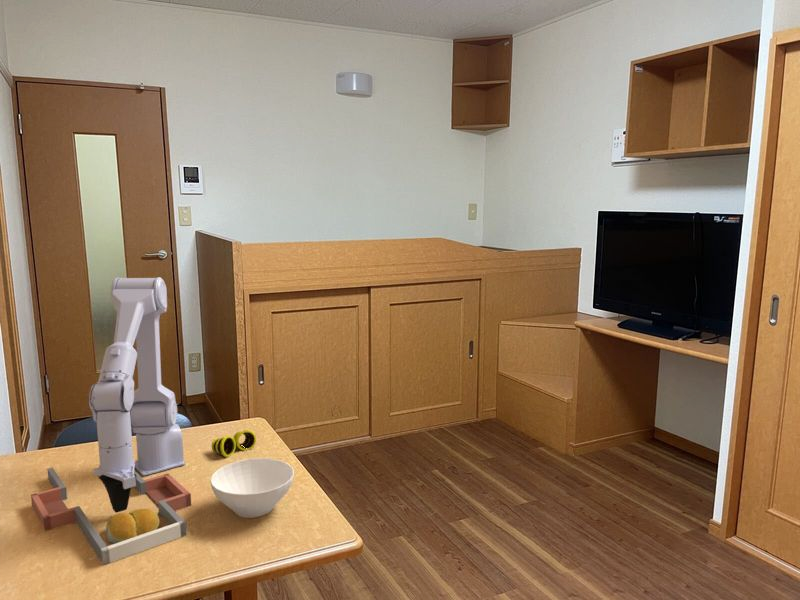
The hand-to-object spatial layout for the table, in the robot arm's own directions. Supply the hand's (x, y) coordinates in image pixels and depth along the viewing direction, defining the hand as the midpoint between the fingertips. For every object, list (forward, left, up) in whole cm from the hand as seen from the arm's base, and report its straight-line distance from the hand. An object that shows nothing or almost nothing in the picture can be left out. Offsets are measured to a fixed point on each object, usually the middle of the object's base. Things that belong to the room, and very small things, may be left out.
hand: (120, 509), depth 115 cm
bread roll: (0, +7, -2) cm, 7 cm away
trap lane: (0, -6, -1) cm, 6 cm away
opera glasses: (-31, -15, -2) cm, 34 cm away
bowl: (-21, +14, -2) cm, 25 cm away
